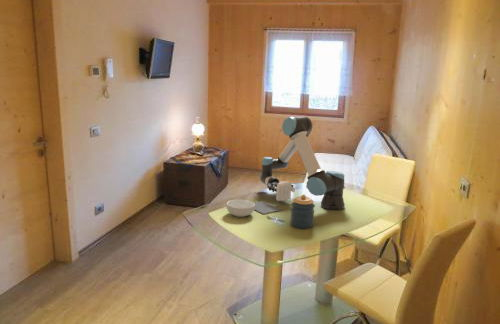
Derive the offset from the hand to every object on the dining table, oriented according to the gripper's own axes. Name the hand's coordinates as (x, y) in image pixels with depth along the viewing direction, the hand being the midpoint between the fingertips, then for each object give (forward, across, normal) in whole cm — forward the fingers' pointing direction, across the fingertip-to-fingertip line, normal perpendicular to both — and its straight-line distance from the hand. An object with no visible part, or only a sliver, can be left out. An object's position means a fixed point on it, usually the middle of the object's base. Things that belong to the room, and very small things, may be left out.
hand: (286, 191), depth 247 cm
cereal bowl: (+8, +34, -10) cm, 37 cm away
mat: (0, +16, -10) cm, 19 cm away
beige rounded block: (-4, 0, -7) cm, 8 cm away
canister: (+33, +7, -10) cm, 35 cm away
